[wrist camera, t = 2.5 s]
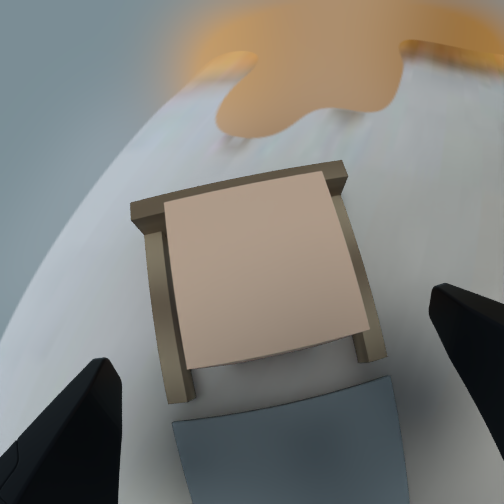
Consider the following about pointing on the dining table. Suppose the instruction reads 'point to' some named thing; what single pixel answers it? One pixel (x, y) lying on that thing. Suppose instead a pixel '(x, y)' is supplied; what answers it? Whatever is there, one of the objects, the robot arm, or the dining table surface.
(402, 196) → the dining table surface
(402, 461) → the slate rubber mat
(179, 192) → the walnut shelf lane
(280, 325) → the peach block
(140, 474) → the dining table surface
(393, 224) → the dining table surface
